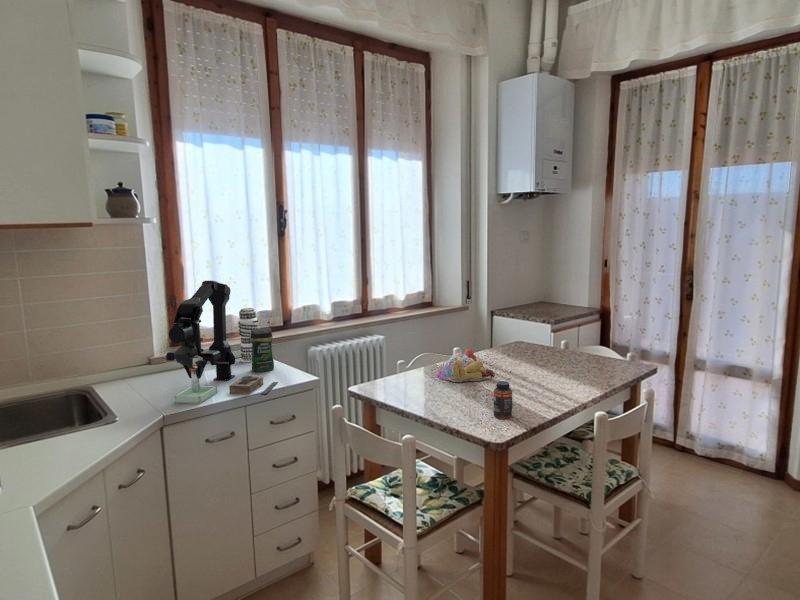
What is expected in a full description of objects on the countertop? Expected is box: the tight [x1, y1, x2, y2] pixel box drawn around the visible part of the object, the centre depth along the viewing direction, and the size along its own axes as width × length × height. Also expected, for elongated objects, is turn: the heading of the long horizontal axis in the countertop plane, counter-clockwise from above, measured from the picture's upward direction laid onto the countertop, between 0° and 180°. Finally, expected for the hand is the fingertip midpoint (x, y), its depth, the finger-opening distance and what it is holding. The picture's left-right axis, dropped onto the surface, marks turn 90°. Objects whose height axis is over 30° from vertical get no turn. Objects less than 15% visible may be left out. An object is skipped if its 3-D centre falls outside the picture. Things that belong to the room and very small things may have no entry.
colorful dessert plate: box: [436, 348, 495, 383], centre depth 204 cm, size 25×24×9 cm
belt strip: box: [260, 381, 279, 395], centre depth 191 cm, size 14×2×1 cm, turn 176°
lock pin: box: [189, 365, 201, 393], centre depth 181 cm, size 4×4×9 cm
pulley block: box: [229, 374, 264, 395], centre depth 191 cm, size 12×8×4 cm, turn 171°
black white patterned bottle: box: [237, 307, 259, 363], centre depth 233 cm, size 9×9×25 cm
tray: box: [173, 385, 218, 405], centre depth 182 cm, size 12×10×3 cm
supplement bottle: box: [493, 380, 513, 420], centre depth 157 cm, size 6×6×11 cm
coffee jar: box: [250, 327, 275, 373], centre depth 216 cm, size 10×8×19 cm
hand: (195, 378), depth 181 cm, fingers closed on lock pin, 3 cm apart
